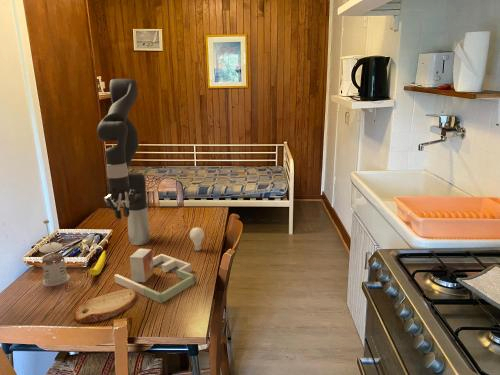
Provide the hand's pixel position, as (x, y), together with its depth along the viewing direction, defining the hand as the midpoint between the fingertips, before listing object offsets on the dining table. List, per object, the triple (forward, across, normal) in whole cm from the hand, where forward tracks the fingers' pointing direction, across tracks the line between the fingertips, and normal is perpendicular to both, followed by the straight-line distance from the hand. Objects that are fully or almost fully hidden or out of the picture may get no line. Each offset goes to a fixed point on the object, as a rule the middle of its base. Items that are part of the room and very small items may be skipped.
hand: (122, 217), depth 149 cm
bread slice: (+24, +20, +15) cm, 35 cm away
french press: (+23, +20, -19) cm, 36 cm away
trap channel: (+23, -3, +16) cm, 28 cm away
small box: (+23, 0, +9) cm, 25 cm away
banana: (+23, +7, -10) cm, 26 cm away
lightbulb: (+23, -30, +10) cm, 39 cm away
